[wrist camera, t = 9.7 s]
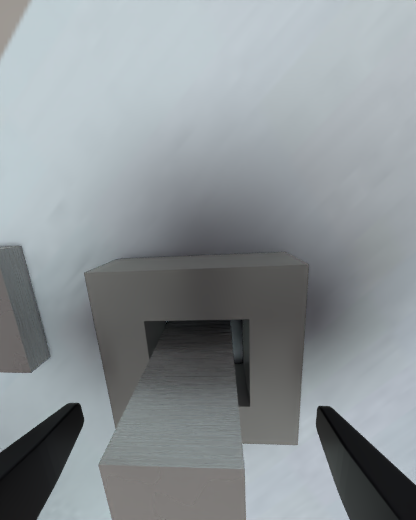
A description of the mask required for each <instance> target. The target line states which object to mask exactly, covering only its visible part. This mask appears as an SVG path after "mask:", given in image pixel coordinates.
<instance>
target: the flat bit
mask: <svg viewBox="0 0 416 520" xmlns="http://www.w3.org/2000/svg"><path fill="white" fill-rule="evenodd" d="M49 358H50V353H49V349H48V345H47V342H46V338H45V334H44V330H43V326H42V323H41V319H40V315H39V311H38V307H37V303H36V300H35V296H34V292H33V288H32V284H31V281H30V277H29V273H28V269H27V265H26V261H25V258H24V254H23V250H22V246H10V247H0V372H12V373H32V372H33V371H34V370H35V369H36V368H38V367H39V366H40V365H41V364H42V363H44V362H45V361H46V360H47V359H49Z"/></svg>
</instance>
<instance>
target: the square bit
mask: <svg viewBox="0 0 416 520" xmlns="http://www.w3.org/2000/svg"><path fill="white" fill-rule="evenodd" d="M99 469H100V473H101V477H102V481H103V485H104V489H105V493H106V497H107V501H108V505H109V509H110V513H111V517H112V520H246V505H245V468H244V458H243V448H242V438H241V427H240V417H239V407H238V397H237V387H236V376H235V366H234V356H233V346H232V336H231V325H230V320H181V321H168V323H167V325H166V327H165V329H164V331H163V333H162V335H161V337H160V339H159V341H158V344H157V346H156V348H155V350H154V352H153V354H152V356H151V358H150V360H149V362H148V364H147V366H146V368H145V370H144V372H143V374H142V376H141V378H140V380H139V382H138V385H137V387H136V389H135V391H134V393H133V395H132V397H131V399H130V401H129V403H128V405H127V407H126V409H125V411H124V413H123V415H122V417H121V419H120V421H119V424H118V426H117V428H116V430H115V432H114V434H113V436H112V438H111V440H110V442H109V444H108V446H107V448H106V450H105V452H104V454H103V456H102V458H101V460H100V462H99Z"/></svg>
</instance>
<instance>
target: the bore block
mask: <svg viewBox="0 0 416 520" xmlns="http://www.w3.org/2000/svg"><path fill="white" fill-rule="evenodd" d="M308 270H309V264H307V263H305V262H303V261H301V260H300V259H298V258H296V257H294V256H292V255H290V254H289V253H287V252H268V253H244V254H220V255H196V256H172V257H148V258H124V259H116V260H113V261H111V262H109V263H106V264H104V265H102V266H99V267H97V268H94V269H92V270H90V271H87V272H85V273H84V276H85V281H86V286H87V291H88V296H89V300H90V305H91V310H92V315H93V320H94V325H95V330H96V335H97V340H98V345H99V349H100V354H101V359H102V364H103V369H104V374H105V379H106V384H107V389H108V394H109V398H110V403H111V408H112V413H113V418H114V423H115V428H117V426H118V424H119V421H120V419H121V417H122V415H123V413H124V411H125V409H126V407H127V405H128V403H129V401H130V399H131V397H132V395H133V393H134V391H135V389H136V387H137V385H138V382H139V380H140V378H141V376H142V374H143V372H144V370H145V368H146V366H147V364H148V362H149V360H150V358H151V356H152V354H153V352H154V350H155V348H156V346H157V344H158V341H159V339H160V337H161V335H162V333H163V331H164V329H165V327H166V326H165V321H181V320H237V319H243V364H234V366H235V376H236V387H237V397H238V407H239V417H240V427H241V438H242V444H277V445H298V430H299V414H300V398H301V382H302V366H303V350H304V334H305V318H306V302H307V286H308Z"/></svg>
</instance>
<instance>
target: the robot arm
mask: <svg viewBox="0 0 416 520" xmlns="http://www.w3.org/2000/svg"><path fill="white" fill-rule="evenodd" d="M83 423H84V417H83V413H82V409H81V405H80V404H79V403H68V404H66V405H65V406H64V407H62V408H61V409H59V410H58V411H57V412H55V413H54V414H53V415H51V416H50V417H48V418H47V419H46V420H44V421H43V422H42V423H40V424H39V425H37V426H36V427H35V428H33V429H32V430H31V431H29V432H28V433H26V434H25V435H24V436H22V437H21V438H20V439H18V440H17V441H16V442H14V443H13V444H11V445H10V446H9V447H7V448H6V449H5V450H3V451H2V452H0V520H37V518H38V516H39V514H40V512H41V510H42V509H43V507H44V505H45V503H46V501H47V499H48V498H49V496H50V494H51V492H52V490H53V488H54V486H55V484H56V482H57V481H58V479H59V476H60V474H61V472H62V470H63V468H64V466H65V464H66V462H67V459H68V457H69V455H70V453H71V451H72V449H73V446H74V444H75V442H76V440H77V438H78V436H79V433H80V431H81V429H82V427H83ZM316 428H317V432H318V435H319V438H320V441H321V444H322V447H323V450H324V452H325V455H326V458H327V461H328V464H329V467H330V470H331V473H332V476H333V479H334V482H335V485H336V487H337V490H338V493H339V495H340V498H341V500H342V503H343V505H344V507H345V510H346V512H347V515H348V517H349V519H350V520H416V485H415V484H414V483H413V482H412V481H411V480H410V479H409V478H407V477H406V476H405V475H404V474H403V473H402V472H401V471H400V470H399V469H398V468H397V467H396V466H394V465H393V464H392V463H391V462H390V461H389V460H388V459H387V458H386V457H385V456H384V455H383V454H381V453H380V452H379V451H378V450H377V449H376V448H375V447H374V446H373V445H372V444H371V443H370V442H368V441H367V440H366V439H365V438H364V437H363V436H362V435H361V434H360V433H359V432H358V431H357V430H355V429H354V428H353V427H352V426H351V425H350V424H349V423H348V422H347V421H346V420H345V419H344V418H343V417H341V416H340V415H339V414H338V413H337V412H336V411H335V410H334V409H333V408H331V407H330V406H318V408H317V417H316Z"/></svg>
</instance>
